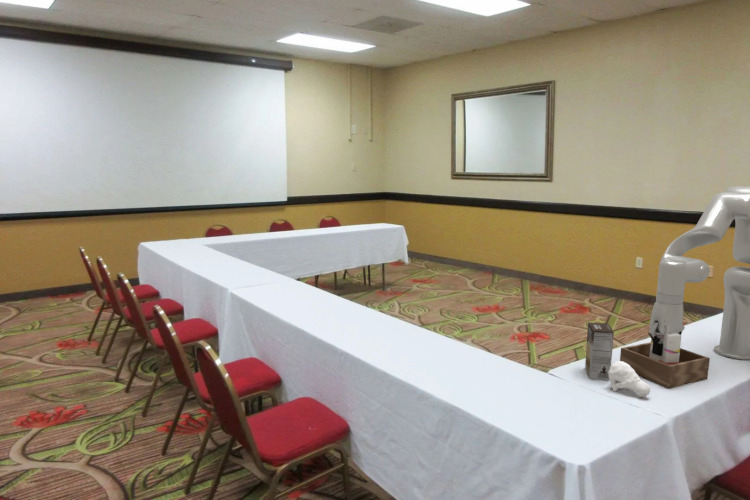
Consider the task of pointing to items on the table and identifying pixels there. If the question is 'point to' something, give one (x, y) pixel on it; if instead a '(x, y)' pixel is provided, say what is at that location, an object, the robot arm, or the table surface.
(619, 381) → the white figurine
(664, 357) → the ink cartridge box
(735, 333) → the robot arm
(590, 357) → the coffee box
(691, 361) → the walnut box
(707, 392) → the table surface
